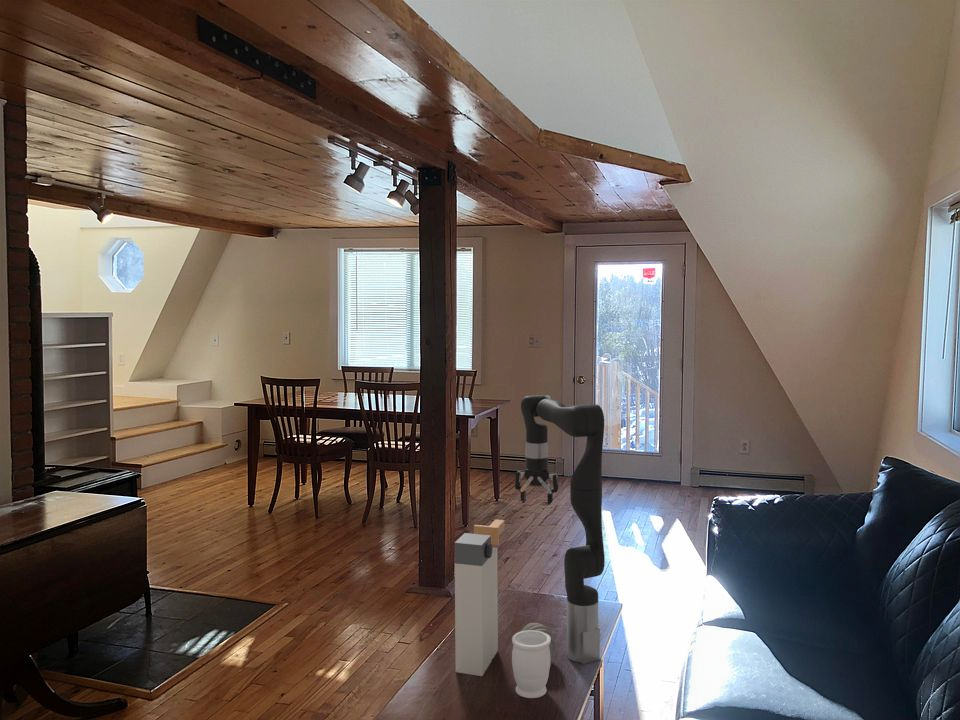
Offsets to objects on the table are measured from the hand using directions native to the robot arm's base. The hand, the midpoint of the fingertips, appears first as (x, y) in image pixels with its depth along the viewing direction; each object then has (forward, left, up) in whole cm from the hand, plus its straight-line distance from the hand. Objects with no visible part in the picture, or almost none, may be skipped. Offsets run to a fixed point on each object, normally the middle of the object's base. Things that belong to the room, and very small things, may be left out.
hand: (536, 503), depth 257 cm
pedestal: (-20, +33, -38) cm, 54 cm away
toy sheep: (-29, +18, -38) cm, 51 cm away
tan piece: (-8, +21, -6) cm, 23 cm away
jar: (-42, +28, -38) cm, 63 cm away
